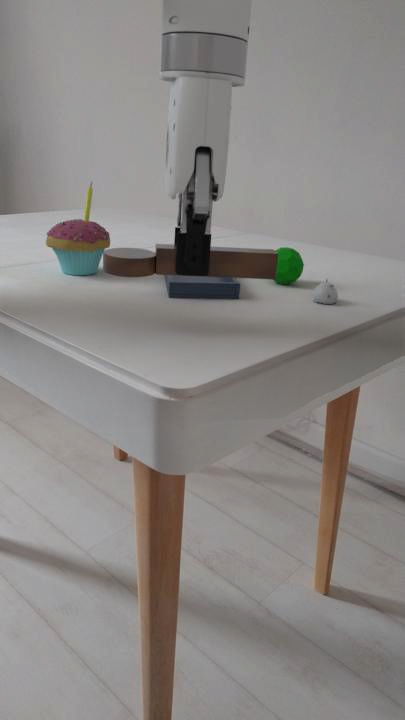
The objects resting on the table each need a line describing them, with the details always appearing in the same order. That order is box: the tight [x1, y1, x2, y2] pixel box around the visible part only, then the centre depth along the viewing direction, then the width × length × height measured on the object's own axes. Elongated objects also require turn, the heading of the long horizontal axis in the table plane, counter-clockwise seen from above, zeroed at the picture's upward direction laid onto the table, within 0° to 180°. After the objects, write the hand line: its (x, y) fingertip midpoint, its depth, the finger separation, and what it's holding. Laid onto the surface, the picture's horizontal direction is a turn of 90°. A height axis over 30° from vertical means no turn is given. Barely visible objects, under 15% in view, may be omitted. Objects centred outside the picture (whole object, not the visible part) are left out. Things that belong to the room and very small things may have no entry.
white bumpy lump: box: [311, 278, 339, 305], centre depth 70 cm, size 3×4×3 cm
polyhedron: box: [271, 246, 305, 285], centre depth 77 cm, size 5×5×5 cm
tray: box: [163, 275, 241, 300], centre depth 78 cm, size 9×21×2 cm, turn 6°
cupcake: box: [45, 181, 111, 276], centre depth 76 cm, size 9×8×12 cm
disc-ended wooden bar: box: [102, 243, 279, 281], centre depth 56 cm, size 17×5×3 cm, turn 97°
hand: (190, 269), depth 56 cm, fingers closed on disc-ended wooden bar, 2 cm apart
